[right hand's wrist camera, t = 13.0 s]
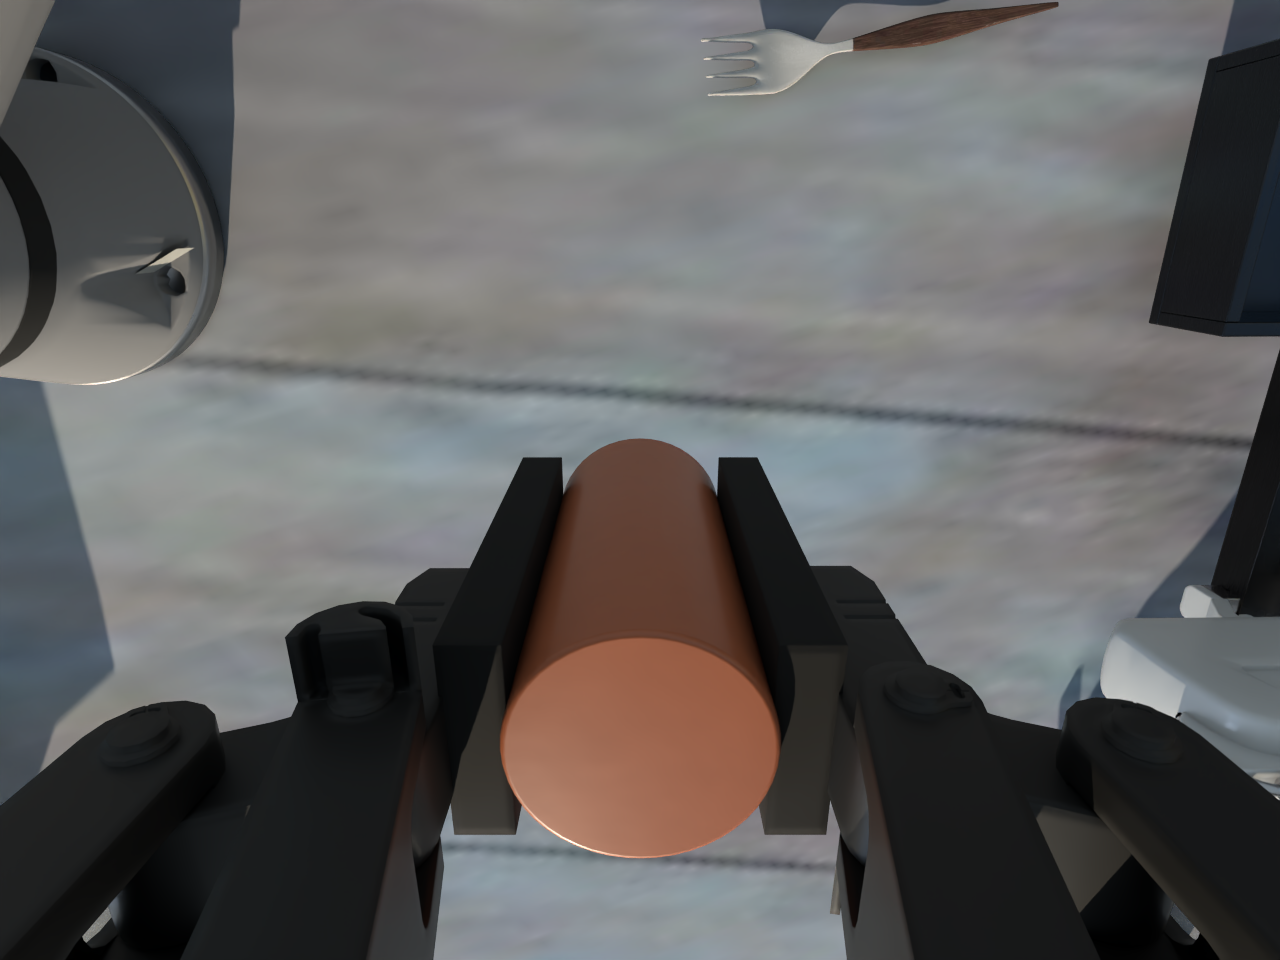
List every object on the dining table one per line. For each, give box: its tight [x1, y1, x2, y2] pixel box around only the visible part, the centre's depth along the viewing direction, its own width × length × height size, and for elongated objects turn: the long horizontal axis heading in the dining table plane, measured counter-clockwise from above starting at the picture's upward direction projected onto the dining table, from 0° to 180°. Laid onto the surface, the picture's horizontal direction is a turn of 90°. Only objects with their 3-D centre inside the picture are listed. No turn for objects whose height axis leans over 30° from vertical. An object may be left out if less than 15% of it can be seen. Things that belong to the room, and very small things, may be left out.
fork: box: [701, 2, 1058, 96], centre depth 32 cm, size 3×16×2 cm, turn 100°
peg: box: [500, 439, 781, 858], centre depth 11 cm, size 3×3×7 cm
